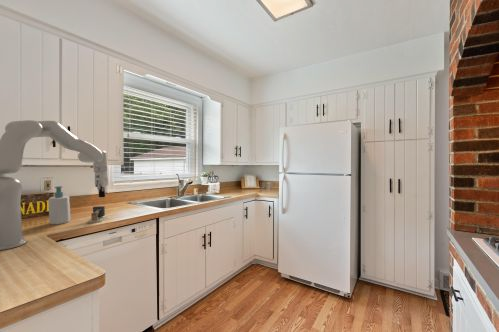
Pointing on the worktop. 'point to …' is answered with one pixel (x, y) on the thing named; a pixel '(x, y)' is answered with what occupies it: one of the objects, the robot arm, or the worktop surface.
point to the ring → (99, 209)
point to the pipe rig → (96, 217)
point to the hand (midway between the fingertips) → (102, 197)
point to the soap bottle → (59, 208)
